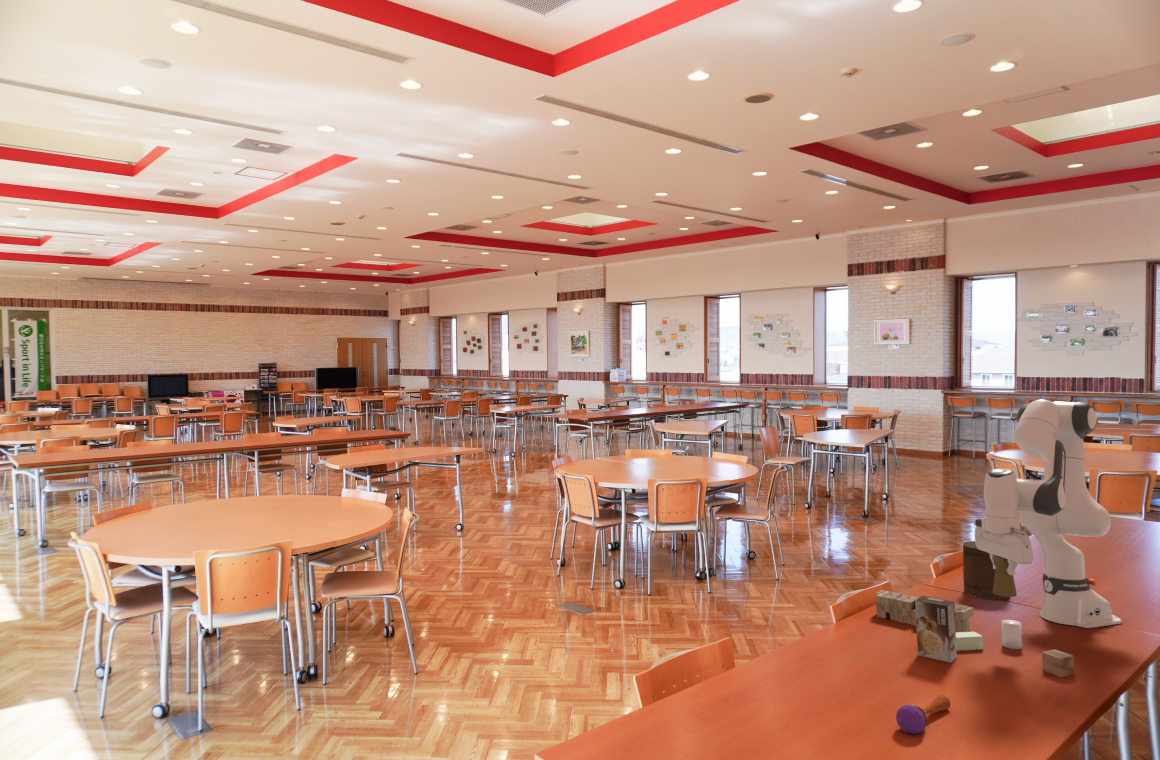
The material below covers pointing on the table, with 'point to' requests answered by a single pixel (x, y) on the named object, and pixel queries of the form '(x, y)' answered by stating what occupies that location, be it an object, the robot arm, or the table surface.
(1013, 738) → the table surface
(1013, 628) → the white capsule
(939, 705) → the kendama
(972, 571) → the wooden container
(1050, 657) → the walnut cube
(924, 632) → the coffee box
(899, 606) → the block tower
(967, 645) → the sage block
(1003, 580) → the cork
